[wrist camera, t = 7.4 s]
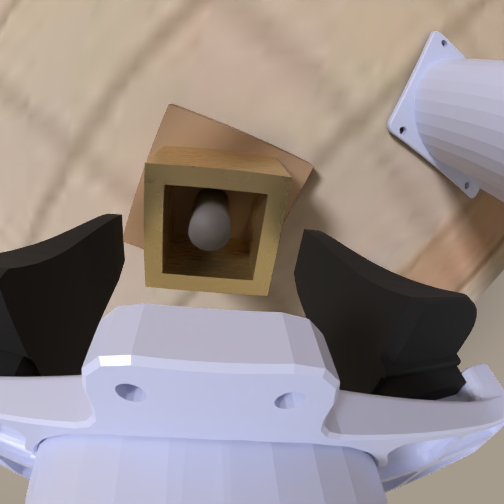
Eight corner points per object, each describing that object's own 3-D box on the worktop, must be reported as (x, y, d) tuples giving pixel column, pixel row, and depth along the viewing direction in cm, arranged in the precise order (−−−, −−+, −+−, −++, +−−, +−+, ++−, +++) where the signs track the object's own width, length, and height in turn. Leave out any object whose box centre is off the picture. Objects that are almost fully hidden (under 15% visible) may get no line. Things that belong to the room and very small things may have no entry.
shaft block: (308, 162, 16) (336, 186, 12) (247, 276, 19) (254, 324, 16) (172, 103, 14) (153, 107, 10) (126, 233, 17) (103, 274, 13)
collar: (274, 156, 15) (291, 177, 11) (258, 253, 18) (267, 295, 14) (163, 145, 14) (144, 162, 11) (159, 245, 17) (145, 286, 13)
